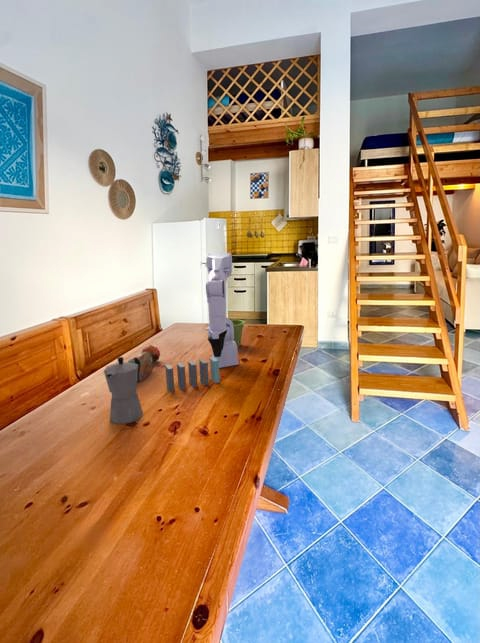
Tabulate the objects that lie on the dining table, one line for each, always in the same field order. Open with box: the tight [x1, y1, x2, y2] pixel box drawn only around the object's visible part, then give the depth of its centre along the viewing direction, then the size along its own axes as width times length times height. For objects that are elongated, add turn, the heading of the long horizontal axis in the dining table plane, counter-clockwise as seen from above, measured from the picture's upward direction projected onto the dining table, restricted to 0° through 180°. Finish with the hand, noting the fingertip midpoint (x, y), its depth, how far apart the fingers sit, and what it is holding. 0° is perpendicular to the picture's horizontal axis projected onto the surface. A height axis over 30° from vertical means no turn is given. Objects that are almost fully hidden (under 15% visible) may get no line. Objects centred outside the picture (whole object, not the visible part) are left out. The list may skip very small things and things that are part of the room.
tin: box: [133, 351, 154, 382], centre depth 140 cm, size 15×3×8 cm, turn 168°
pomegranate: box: [141, 344, 161, 363], centre depth 155 cm, size 7×7×10 cm
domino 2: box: [176, 362, 187, 391], centre depth 128 cm, size 2×4×8 cm, turn 23°
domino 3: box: [187, 360, 199, 388], centre depth 130 cm, size 2×4×8 cm, turn 23°
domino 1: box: [164, 364, 176, 393], centre depth 127 cm, size 2×4×8 cm, turn 23°
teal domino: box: [209, 356, 221, 384], centre depth 133 cm, size 2×4×8 cm, turn 23°
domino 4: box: [198, 358, 210, 386], centre depth 132 cm, size 2×4×8 cm, turn 23°
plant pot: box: [230, 319, 246, 348], centre depth 173 cm, size 12×12×11 cm
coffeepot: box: [103, 356, 144, 425], centre depth 108 cm, size 15×9×18 cm, turn 163°
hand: (218, 353), depth 132 cm, fingers open, 7 cm apart
